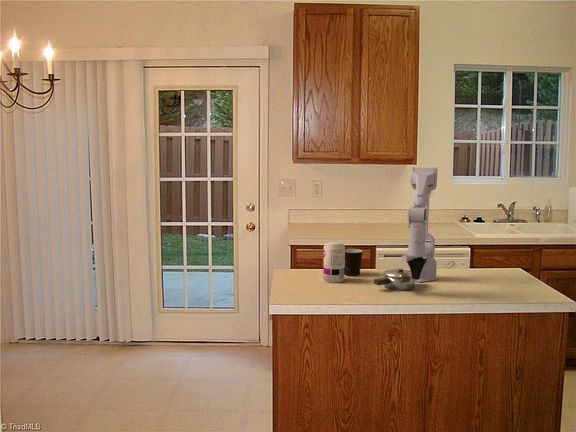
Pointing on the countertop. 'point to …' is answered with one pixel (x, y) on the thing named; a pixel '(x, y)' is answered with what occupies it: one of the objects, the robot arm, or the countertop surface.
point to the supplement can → (334, 262)
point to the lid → (399, 274)
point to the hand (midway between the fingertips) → (415, 278)
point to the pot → (396, 283)
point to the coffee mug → (353, 262)
